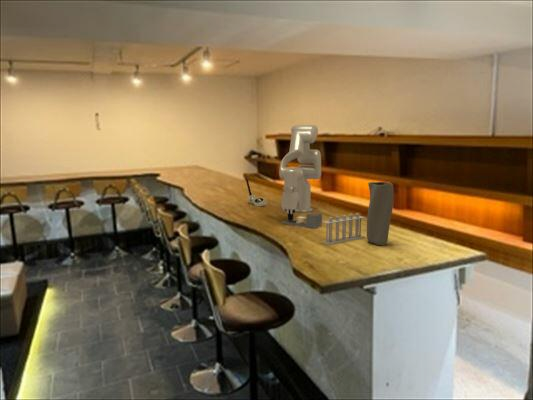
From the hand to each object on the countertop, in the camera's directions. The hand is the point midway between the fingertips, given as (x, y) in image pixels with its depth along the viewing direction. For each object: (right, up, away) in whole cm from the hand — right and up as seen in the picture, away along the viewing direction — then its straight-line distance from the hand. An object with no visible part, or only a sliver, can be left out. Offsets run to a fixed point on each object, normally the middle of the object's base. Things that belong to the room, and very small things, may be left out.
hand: (290, 220), depth 247 cm
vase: (+41, -10, -43) cm, 60 cm away
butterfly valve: (-21, +8, +62) cm, 66 cm away
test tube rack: (+25, -9, -37) cm, 46 cm away
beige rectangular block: (+9, -3, -5) cm, 11 cm away
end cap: (+13, -3, -8) cm, 15 cm away
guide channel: (+4, -3, -2) cm, 5 cm away
